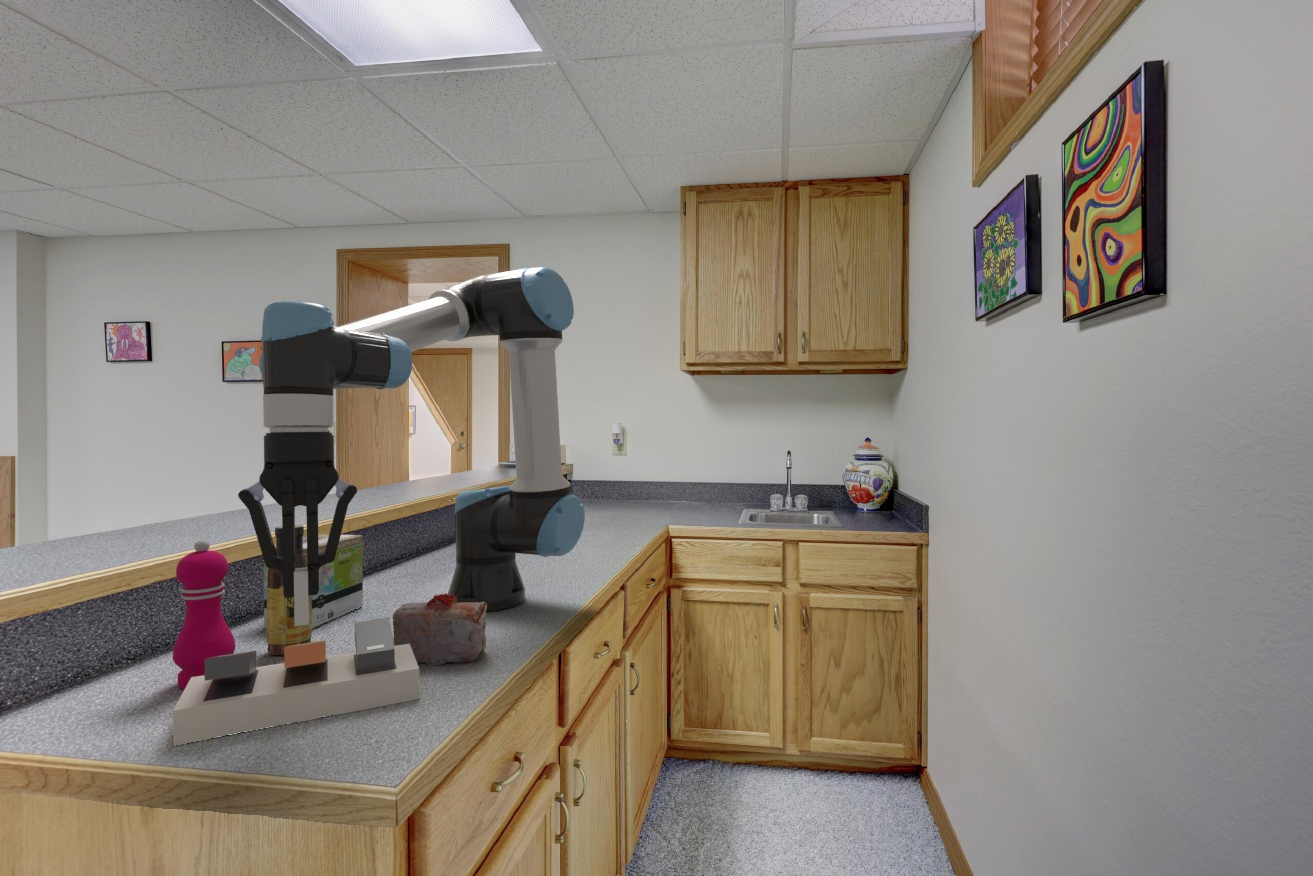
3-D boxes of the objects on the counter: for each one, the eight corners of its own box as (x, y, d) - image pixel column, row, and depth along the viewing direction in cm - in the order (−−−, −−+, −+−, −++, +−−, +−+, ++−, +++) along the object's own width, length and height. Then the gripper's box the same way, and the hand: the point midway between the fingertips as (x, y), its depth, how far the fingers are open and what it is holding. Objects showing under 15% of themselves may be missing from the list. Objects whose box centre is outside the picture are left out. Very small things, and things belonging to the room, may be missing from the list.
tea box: (313, 631, 113) (311, 547, 113) (262, 629, 115) (260, 546, 115) (365, 607, 128) (363, 532, 128) (319, 605, 130) (317, 532, 130)
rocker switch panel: (410, 671, 94) (409, 643, 94) (419, 699, 84) (419, 668, 84) (192, 708, 82) (191, 677, 82) (173, 746, 72) (172, 710, 72)
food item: (492, 648, 103) (491, 587, 103) (482, 667, 95) (480, 600, 95) (405, 651, 102) (404, 589, 102) (387, 670, 94) (386, 603, 94)
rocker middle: (325, 658, 87) (325, 639, 87) (325, 661, 80) (324, 641, 81) (288, 664, 85) (288, 645, 86) (284, 668, 78) (284, 647, 79)
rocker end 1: (256, 669, 83) (256, 649, 84) (249, 673, 76) (249, 652, 77) (215, 676, 81) (215, 655, 82) (204, 680, 74) (204, 658, 75)
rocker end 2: (389, 632, 91) (389, 617, 90) (394, 665, 84) (394, 648, 84) (354, 637, 89) (354, 622, 89) (357, 671, 82) (357, 654, 82)
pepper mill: (243, 680, 91) (239, 539, 91) (180, 696, 86) (176, 546, 85) (227, 668, 96) (224, 533, 96) (167, 682, 91) (163, 540, 90)
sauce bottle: (291, 658, 100) (288, 530, 99) (257, 656, 101) (254, 529, 100) (322, 644, 106) (319, 523, 106) (289, 642, 107) (286, 523, 107)
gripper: (356, 430, 85) (358, 608, 86) (240, 431, 80) (242, 622, 80) (359, 430, 79) (361, 623, 79) (232, 430, 73) (235, 639, 73)
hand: (301, 622), depth 79 cm, fingers closed
